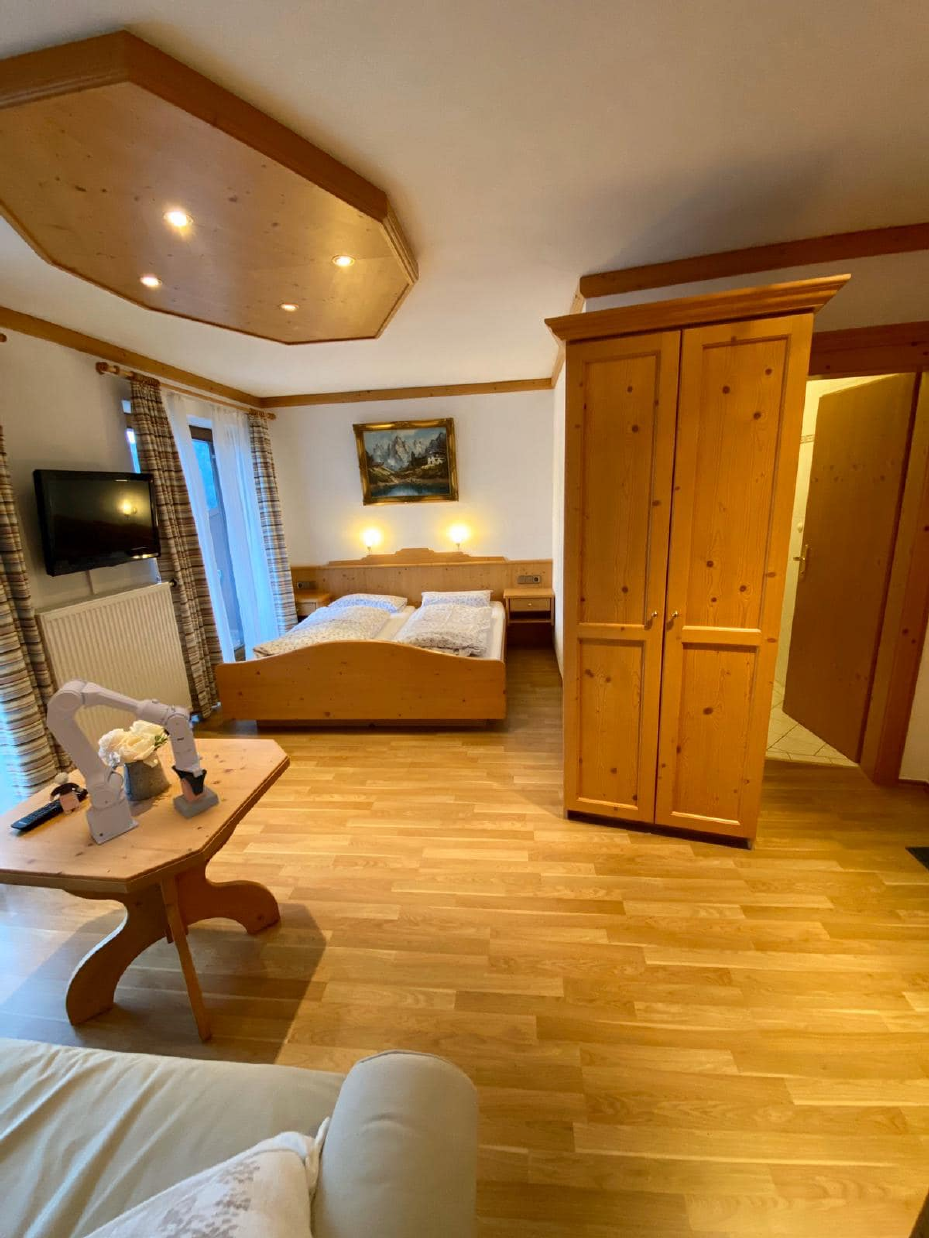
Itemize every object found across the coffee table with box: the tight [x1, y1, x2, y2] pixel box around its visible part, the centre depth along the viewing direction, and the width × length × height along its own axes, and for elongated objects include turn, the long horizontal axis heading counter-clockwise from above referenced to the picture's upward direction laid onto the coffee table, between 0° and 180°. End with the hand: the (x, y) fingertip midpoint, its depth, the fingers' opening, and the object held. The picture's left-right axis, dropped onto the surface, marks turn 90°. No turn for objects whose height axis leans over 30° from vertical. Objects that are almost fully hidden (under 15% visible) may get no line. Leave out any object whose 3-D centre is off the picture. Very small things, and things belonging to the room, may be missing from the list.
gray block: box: [172, 784, 220, 820], centre depth 142 cm, size 9×9×3 cm
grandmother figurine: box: [49, 771, 84, 815], centre depth 141 cm, size 8×4×13 cm, turn 141°
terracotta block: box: [179, 778, 206, 803], centre depth 141 cm, size 4×4×6 cm
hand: (193, 789), depth 141 cm, fingers open, 7 cm apart
